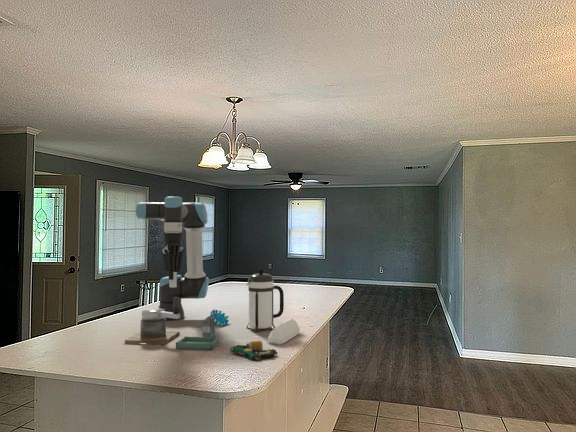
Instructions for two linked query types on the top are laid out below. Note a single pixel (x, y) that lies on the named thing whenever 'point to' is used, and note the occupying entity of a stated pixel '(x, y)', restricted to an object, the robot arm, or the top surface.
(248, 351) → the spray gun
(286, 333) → the white faceted wedge
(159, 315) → the crank
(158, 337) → the stand
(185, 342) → the tray
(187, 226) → the robot arm
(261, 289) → the coffee press
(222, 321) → the gear
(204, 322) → the label tape cartridge
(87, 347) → the top surface
